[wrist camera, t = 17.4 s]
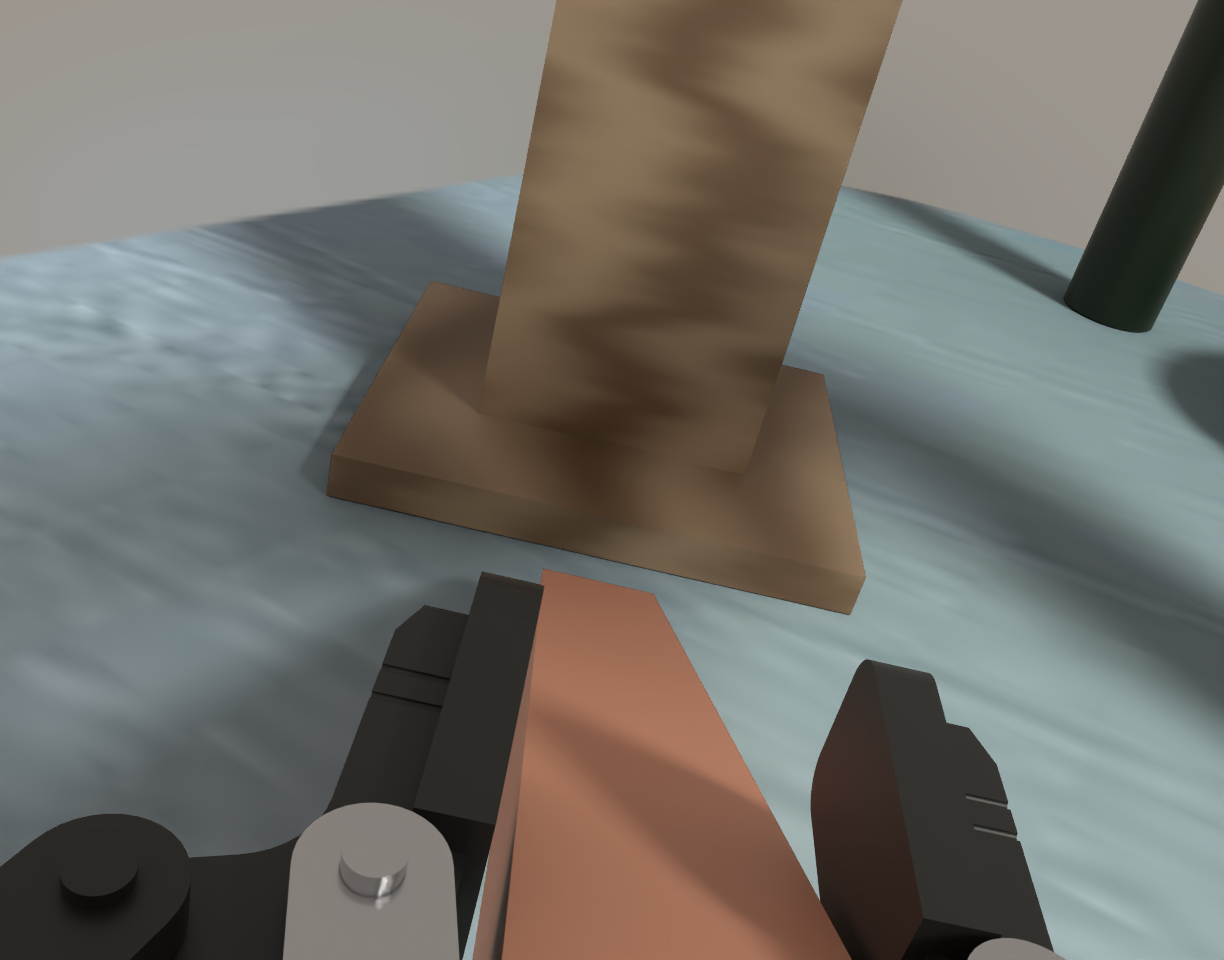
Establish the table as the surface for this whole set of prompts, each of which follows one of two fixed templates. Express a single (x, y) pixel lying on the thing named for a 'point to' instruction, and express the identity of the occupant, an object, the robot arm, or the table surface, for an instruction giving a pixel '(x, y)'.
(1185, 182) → the wine bottle
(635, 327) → the wooden pedestal
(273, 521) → the table surface
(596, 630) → the stick
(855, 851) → the robot arm
